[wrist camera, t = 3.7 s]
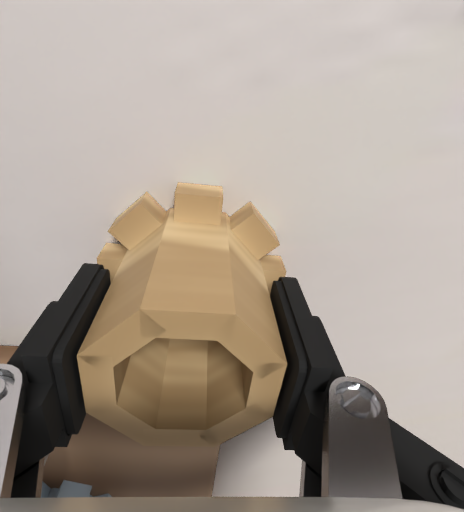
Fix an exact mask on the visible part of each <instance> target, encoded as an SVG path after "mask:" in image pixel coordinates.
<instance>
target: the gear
mask: <svg viewBox="0 0 464 512" xmlns="http://www.w3.org/2000/svg"><path fill="white" fill-rule="evenodd" d="M91 489H92V486H91V485H86V484H81V483H76V482H71V481H66V480H64V481H63V482H62V484H61V486H60V488H59V489H58V488H52V489H51V488H50V487H49V486H47V485H46V484H45V483H44V482H43V481H42V491H41V498H65V497H93V496H92V495H90V492H91ZM94 497H112V496H111V495H110V494H109V493H108V494H103V495H99V496H94Z"/></svg>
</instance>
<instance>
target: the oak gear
mask: <svg viewBox="0 0 464 512" xmlns="http://www.w3.org/2000/svg"><path fill="white" fill-rule="evenodd" d="M222 204H223V190H222V187H221V186H210V185H200V184H189V183H179V182H178V184H177V187H176V191H175V201H174V208H170V209H169V210H168V211H165V210H164V209H163V208H162V207H161V206H160V205H159V204H158V203H157V202H156V201H155V200H154V199H153V198H152V197H151V195H150V194H149V193H148V192H146V193H145V194H144V195H143V196H141V197H140V198H139V199H138V200H137V201H136V202H135V203H133V204H132V205H131V206H130V207H129V208H128V209H126V210H125V211H124V212H123V213H122V214H121V215H119V216H118V217H117V218H116V220H115V221H114V223H113V224H112V226H111V227H110V229H109V230H108V232H109V233H110V234H111V235H112V236H114V237H115V238H116V239H117V240H118V241H119V242H120V243H121V244H113V243H106V244H105V246H104V248H103V249H102V251H101V252H100V254H99V256H98V257H97V264H102V265H103V266H104V269H108V270H109V271H110V282H111V285H110V287H109V289H108V291H107V293H106V295H105V297H104V299H103V301H102V304H101V306H100V308H99V310H98V312H97V314H96V316H95V318H94V320H93V322H92V324H91V327H90V329H89V331H88V333H87V335H86V337H85V339H84V341H83V343H82V345H81V347H80V349H79V352H78V354H77V361H78V367H79V373H80V379H81V385H82V391H83V398H84V404H85V410H86V413H88V414H89V415H91V416H93V417H95V418H96V419H98V420H100V421H102V422H103V423H105V424H107V425H109V426H110V427H112V428H114V429H115V430H117V431H119V432H121V433H122V434H124V435H126V436H128V437H129V438H131V439H133V440H135V441H136V442H138V443H140V444H141V445H143V446H192V447H216V446H218V445H220V444H222V443H224V442H226V441H227V440H229V439H231V438H233V437H235V436H237V435H239V434H241V433H243V432H245V431H246V430H248V429H250V428H252V427H254V426H256V425H258V424H260V423H262V422H264V421H266V420H267V419H269V418H271V417H273V414H274V410H275V407H276V403H277V399H278V396H279V392H280V389H281V385H282V381H283V378H284V374H285V371H286V367H287V361H286V357H285V353H284V349H283V345H282V341H281V337H280V334H279V330H278V326H277V322H276V318H275V314H274V310H273V307H272V303H271V299H270V293H271V288H272V283H273V281H274V280H275V281H278V279H279V277H285V275H286V270H285V267H284V264H283V262H282V259H281V256H273V255H266V254H268V253H269V252H270V251H272V250H273V249H275V248H276V247H278V246H279V245H280V244H279V242H278V239H277V236H276V234H275V231H274V230H273V229H272V227H271V226H270V225H269V224H268V223H267V221H266V220H265V219H264V218H263V216H262V215H261V214H260V213H259V211H258V210H257V209H256V208H255V207H254V205H253V204H252V203H251V202H249V203H247V204H246V205H245V206H243V207H242V208H241V209H240V210H238V211H237V212H236V213H234V214H233V215H232V216H230V217H229V216H228V215H227V214H226V213H224V212H222Z"/></svg>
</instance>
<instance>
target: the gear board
mask: <svg viewBox="0 0 464 512" xmlns="http://www.w3.org/2000/svg"><path fill="white" fill-rule="evenodd" d="M18 347H19V346H0V364H7V362H8V361H9V360H10V358H11V357H12V355H13V354H14V352H15V351H16V350H17V348H18ZM219 448H220V445H218V446H216V447H192V446H143V445H141V444H140V443H138V442H136V441H135V440H133V439H131V438H129V437H128V436H126V435H124V434H122V433H121V432H119V431H117V430H115V429H114V428H112V427H110V426H109V425H107V424H105V423H103V422H102V421H100V420H98V419H96V418H95V417H93V416H91V415H89V414H88V413H86V416H85V418H84V421H83V424H82V427H81V429H80V431H79V433H78V434H77V435H76V434H72V436H71V439H70V441H69V444H68V447H55V448H54V450H53V451H52V452H51V453H49V454H48V455H47V456H45V460H44V470H43V480H42V481H43V482H44V483H45V484H46V485H47V486H49V487H50V488H51V489H52V488H58V489H59V488H60V486H61V484H62V482H63V481H64V480H66V481H71V482H76V483H81V484H86V485H91V486H92V489H91V492H90V495H92V496H93V497H94V496H99V495H103V494H108V493H109V494H110V495H111V496H112V497H212V491H213V485H214V478H215V472H216V466H217V460H218V454H219Z"/></svg>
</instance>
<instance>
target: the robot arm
mask: <svg viewBox="0 0 464 512" xmlns="http://www.w3.org/2000/svg"><path fill="white" fill-rule="evenodd" d="M110 285H111V282H110V271H109V270H108V269H104V266H103V265H102V264H87V263H85V264H83V265H82V267H81V268H80V270H79V271H78V273H77V274H76V275H75V277H74V278H73V280H72V281H71V283H70V284H69V286H68V287H67V289H66V290H65V292H64V293H63V295H62V296H61V298H60V299H59V301H53V302H51V303H50V304H49V305H48V306H47V307H46V309H45V310H44V312H43V313H42V314H41V316H40V317H39V319H38V320H37V321H36V323H35V324H34V326H33V327H32V328H31V330H30V331H29V333H28V334H27V336H26V337H25V338H24V340H23V341H22V343H21V344H20V345H19V347H18V348H17V350H16V351H15V352H14V354H13V355H12V357H11V358H10V360H9V361H8V362H7V364H0V512H464V468H462V467H461V466H460V465H458V464H457V463H455V462H454V461H452V460H451V459H449V458H448V457H446V456H445V455H443V454H442V453H440V452H439V451H437V450H436V449H434V448H433V447H431V446H430V445H428V444H427V443H425V442H424V441H422V440H421V439H419V438H418V437H416V436H415V435H413V434H412V433H410V432H409V431H407V430H406V429H404V428H403V427H401V426H400V425H398V424H397V423H395V422H394V421H392V420H391V419H389V418H388V413H387V408H386V405H385V402H384V400H383V398H382V397H381V395H380V394H379V392H378V391H376V390H375V389H374V388H373V387H372V386H371V385H369V384H368V383H366V382H365V381H362V380H360V379H357V378H354V377H348V376H347V377H346V376H345V374H344V372H343V370H342V367H341V365H340V363H339V360H338V358H337V356H336V354H335V351H334V349H333V347H332V345H331V342H330V340H329V338H328V335H327V333H326V331H325V329H324V326H323V324H322V322H321V320H320V318H319V317H317V316H312V315H311V312H310V310H309V307H308V305H307V302H306V300H305V298H304V295H303V293H302V290H301V288H300V285H299V283H298V281H297V279H296V278H291V277H279V279H278V281H275V280H274V281H273V283H272V288H271V293H270V299H271V303H272V307H273V310H274V314H275V318H276V322H277V326H278V330H279V334H280V337H281V341H282V345H283V349H284V353H285V357H286V361H287V367H286V371H285V374H284V378H283V381H282V385H281V389H280V392H279V396H278V399H277V403H276V407H275V410H274V414H273V420H274V426H275V431H276V435H277V437H278V438H282V439H283V444H284V449H285V450H295V454H296V455H297V456H299V457H300V458H301V459H302V468H301V481H300V494H299V497H65V498H41V491H42V480H43V470H44V460H45V456H47V455H48V454H49V453H51V452H52V451H53V450H54V448H55V447H68V444H69V441H70V439H71V436H72V434H76V435H77V434H78V433H79V431H80V429H81V427H82V424H83V421H84V418H85V416H86V410H85V404H84V398H83V391H82V385H81V379H80V373H79V367H78V361H77V354H78V352H79V349H80V347H81V345H82V343H83V341H84V339H85V337H86V335H87V333H88V331H89V329H90V327H91V324H92V322H93V320H94V318H95V316H96V314H97V312H98V310H99V308H100V306H101V304H102V301H103V299H104V297H105V295H106V293H107V291H108V289H109V287H110Z"/></svg>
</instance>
